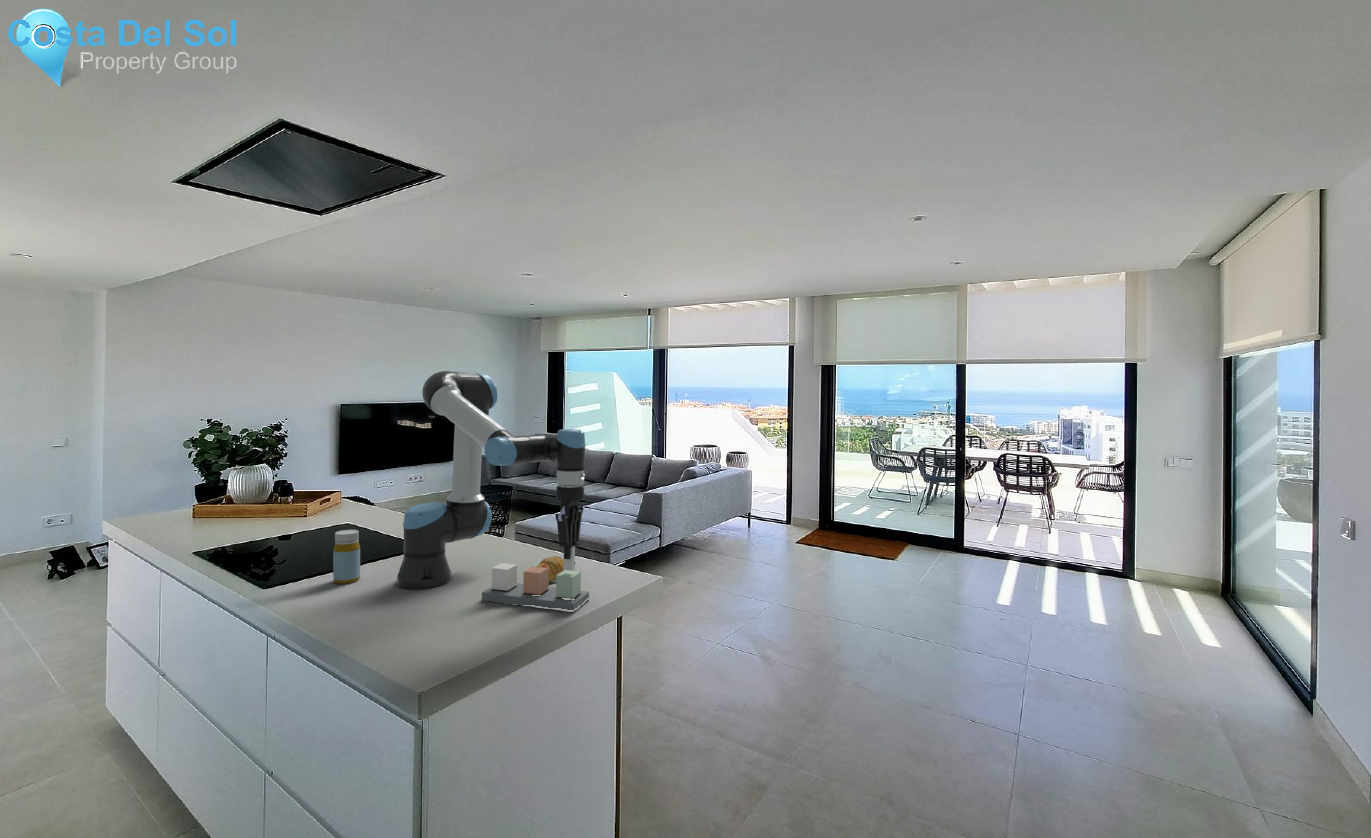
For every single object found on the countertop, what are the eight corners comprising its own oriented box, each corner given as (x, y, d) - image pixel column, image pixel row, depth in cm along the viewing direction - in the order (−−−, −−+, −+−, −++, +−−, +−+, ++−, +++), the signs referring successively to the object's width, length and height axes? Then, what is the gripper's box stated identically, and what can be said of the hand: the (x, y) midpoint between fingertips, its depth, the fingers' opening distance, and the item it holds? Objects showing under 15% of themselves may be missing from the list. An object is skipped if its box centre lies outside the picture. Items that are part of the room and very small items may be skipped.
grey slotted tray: (481, 601, 160) (481, 592, 160) (501, 589, 170) (501, 581, 170) (573, 613, 154) (573, 603, 153) (588, 600, 163) (589, 591, 163)
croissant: (532, 600, 172) (541, 579, 170) (511, 579, 176) (520, 558, 174) (579, 580, 190) (588, 561, 188) (559, 561, 195) (568, 542, 192)
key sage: (555, 596, 157) (556, 575, 157) (564, 590, 162) (564, 569, 162) (572, 598, 156) (573, 577, 156) (580, 592, 161) (580, 571, 161)
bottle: (365, 577, 177) (365, 529, 177) (349, 585, 170) (349, 535, 170) (344, 576, 178) (344, 528, 177) (327, 583, 171) (327, 534, 170)
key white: (491, 588, 162) (491, 567, 162) (501, 583, 167) (501, 563, 167) (507, 590, 161) (507, 569, 161) (516, 585, 166) (517, 564, 166)
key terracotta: (523, 592, 160) (523, 571, 160) (532, 587, 165) (532, 566, 164) (539, 594, 159) (539, 573, 158) (548, 588, 163) (548, 568, 163)
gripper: (572, 489, 151) (571, 578, 152) (592, 482, 163) (591, 564, 164) (546, 487, 153) (545, 575, 153) (568, 481, 165) (567, 561, 166)
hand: (568, 569), depth 159 cm, fingers closed
